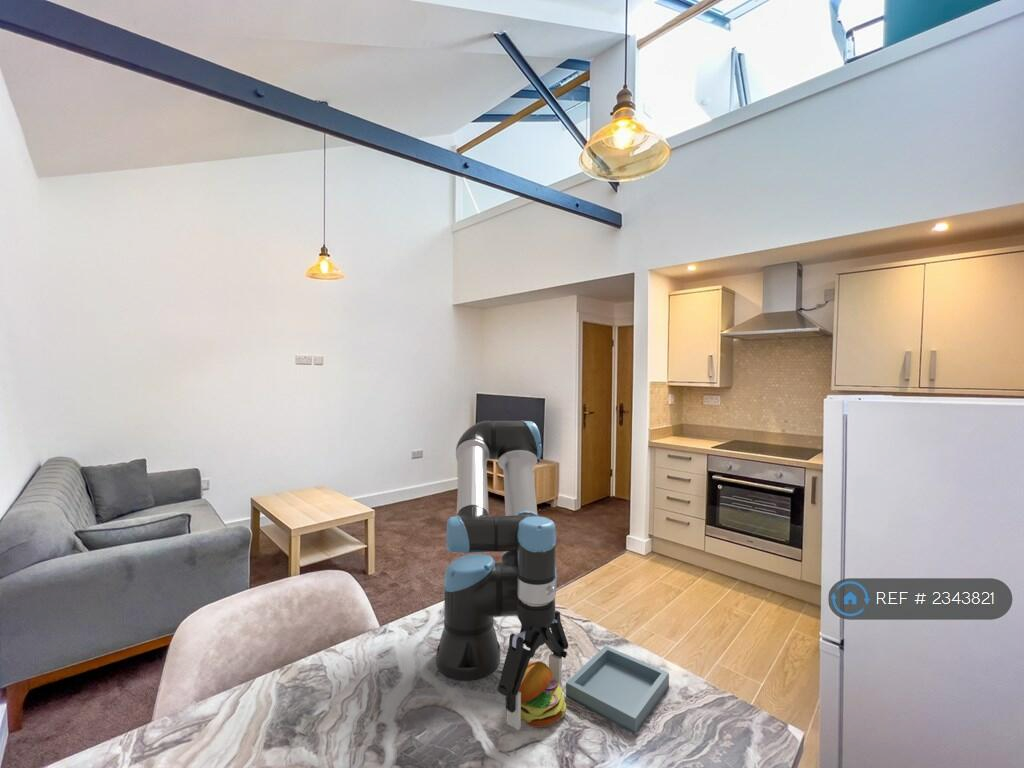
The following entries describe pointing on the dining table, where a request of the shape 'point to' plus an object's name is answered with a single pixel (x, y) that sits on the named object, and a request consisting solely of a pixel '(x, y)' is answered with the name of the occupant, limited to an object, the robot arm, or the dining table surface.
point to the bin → (618, 688)
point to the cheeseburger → (540, 696)
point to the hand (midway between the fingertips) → (535, 705)
